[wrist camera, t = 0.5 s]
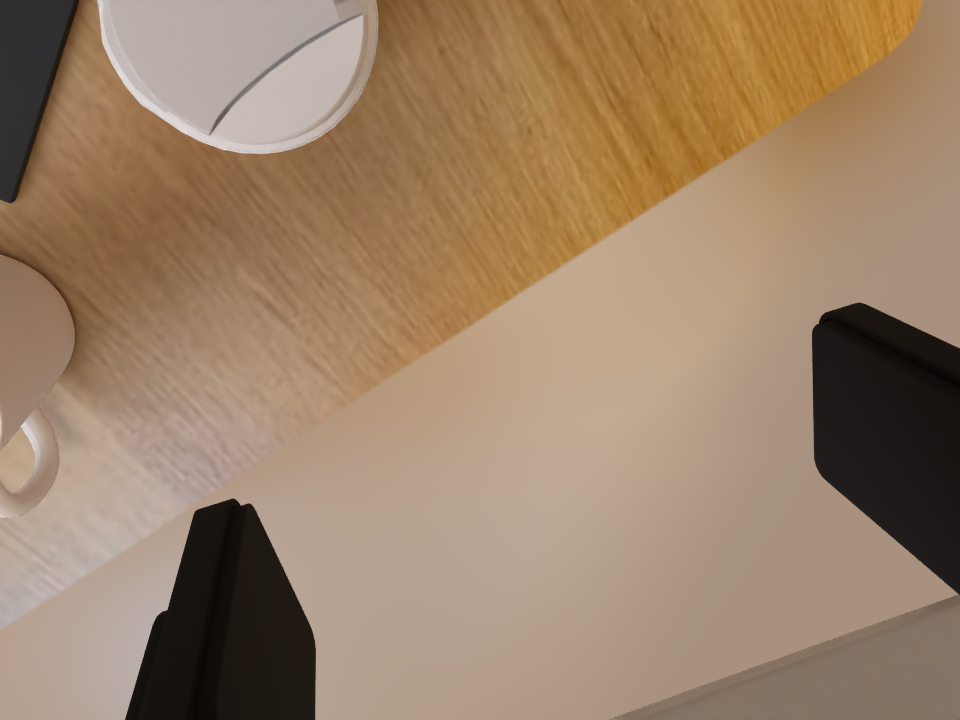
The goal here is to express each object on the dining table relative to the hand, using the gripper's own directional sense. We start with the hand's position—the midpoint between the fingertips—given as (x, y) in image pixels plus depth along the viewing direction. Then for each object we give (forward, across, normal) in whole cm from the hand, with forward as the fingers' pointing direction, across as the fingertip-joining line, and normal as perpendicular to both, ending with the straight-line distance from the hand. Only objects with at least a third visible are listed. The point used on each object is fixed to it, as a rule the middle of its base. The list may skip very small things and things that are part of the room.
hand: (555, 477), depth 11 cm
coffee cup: (+30, +4, -8) cm, 31 cm away
